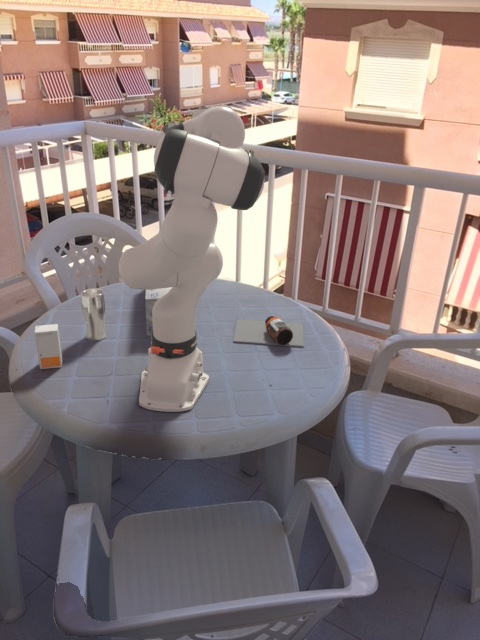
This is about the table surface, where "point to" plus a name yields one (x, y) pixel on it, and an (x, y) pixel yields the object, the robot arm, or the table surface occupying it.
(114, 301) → the table surface
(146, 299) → the soda pack
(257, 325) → the rubber mat
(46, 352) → the skincare box
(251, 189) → the robot arm
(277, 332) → the supplement bottle
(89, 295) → the beer glass
